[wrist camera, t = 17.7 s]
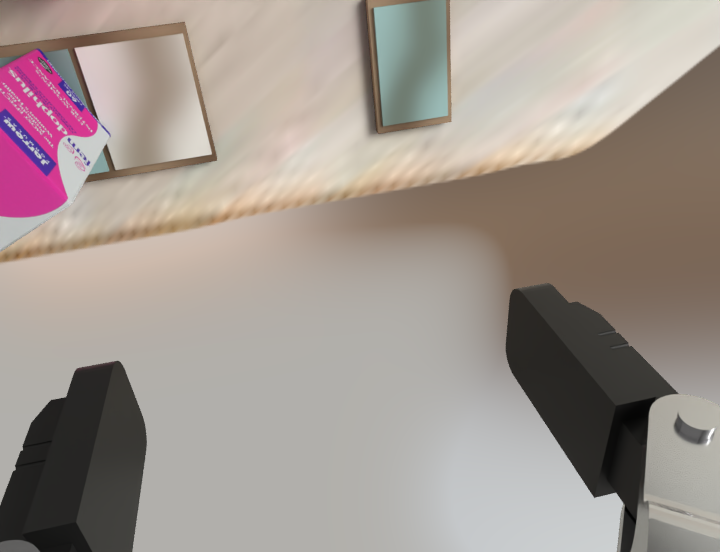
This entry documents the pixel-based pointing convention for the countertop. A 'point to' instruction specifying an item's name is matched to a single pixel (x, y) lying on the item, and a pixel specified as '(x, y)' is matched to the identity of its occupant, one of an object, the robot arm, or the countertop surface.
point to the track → (184, 98)
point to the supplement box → (41, 145)
